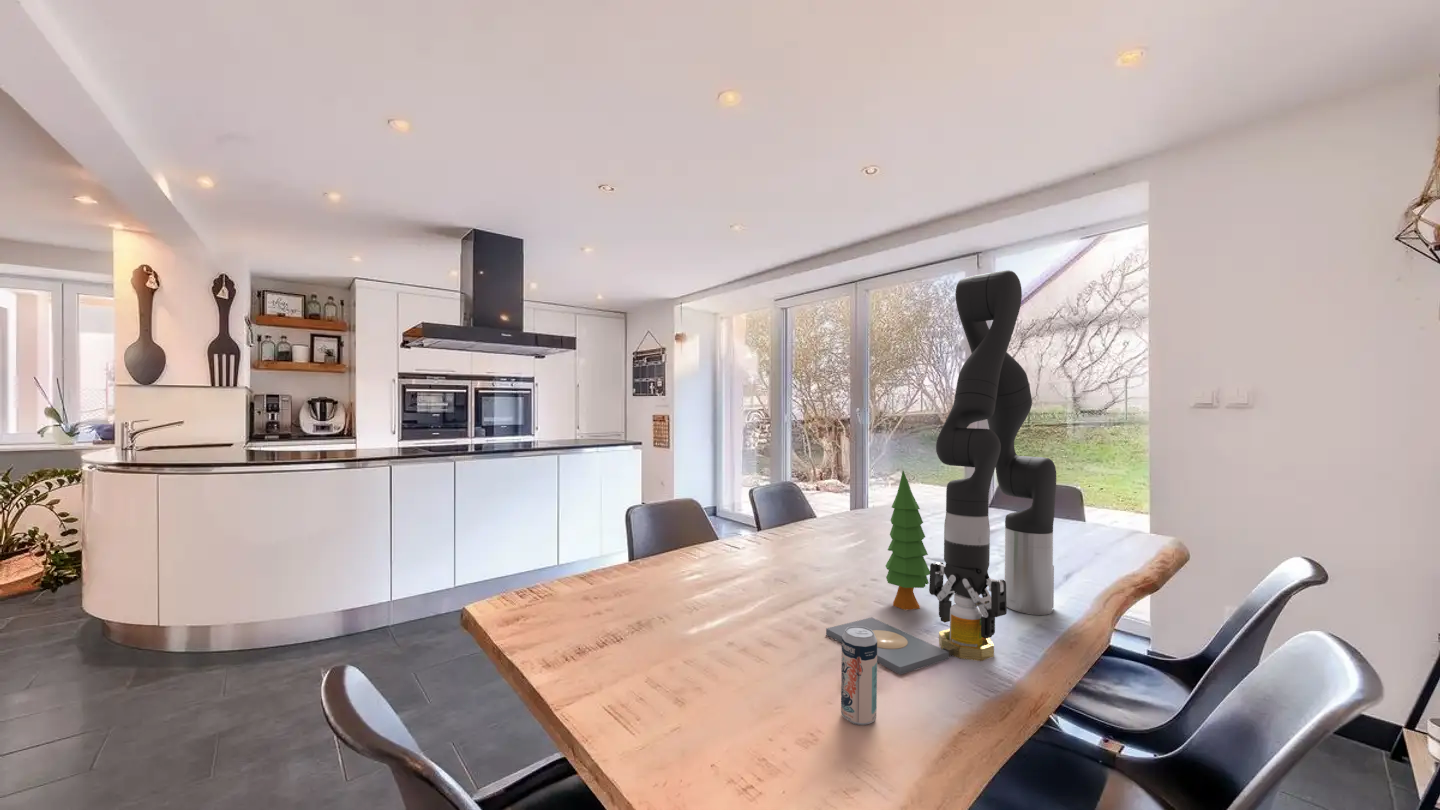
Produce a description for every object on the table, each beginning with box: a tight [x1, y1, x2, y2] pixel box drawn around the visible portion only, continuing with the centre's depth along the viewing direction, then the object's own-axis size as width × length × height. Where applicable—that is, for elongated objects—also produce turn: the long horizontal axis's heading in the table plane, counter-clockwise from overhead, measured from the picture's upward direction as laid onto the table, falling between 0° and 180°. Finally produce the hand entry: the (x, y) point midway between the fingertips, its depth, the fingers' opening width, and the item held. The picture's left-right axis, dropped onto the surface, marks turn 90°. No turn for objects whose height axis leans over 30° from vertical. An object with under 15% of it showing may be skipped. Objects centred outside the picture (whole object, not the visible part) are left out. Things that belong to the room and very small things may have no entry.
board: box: [825, 616, 950, 676], centre depth 100 cm, size 12×18×1 cm, turn 30°
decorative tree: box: [885, 470, 930, 611], centre depth 122 cm, size 10×9×30 cm
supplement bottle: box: [949, 593, 983, 647], centre depth 99 cm, size 5×5×10 cm
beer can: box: [840, 626, 878, 726], centre depth 77 cm, size 5×5×12 cm
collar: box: [938, 628, 995, 662], centre depth 99 cm, size 11×9×2 cm
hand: (965, 628), depth 99 cm, fingers open, 8 cm apart
